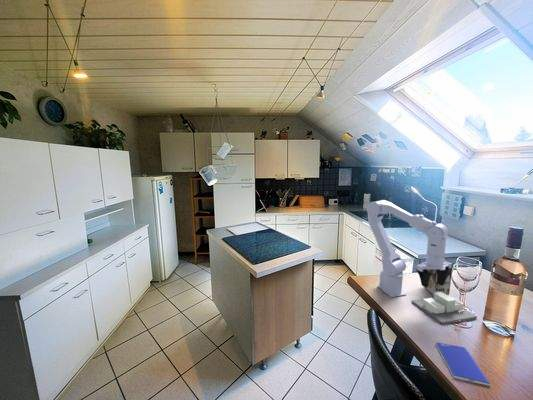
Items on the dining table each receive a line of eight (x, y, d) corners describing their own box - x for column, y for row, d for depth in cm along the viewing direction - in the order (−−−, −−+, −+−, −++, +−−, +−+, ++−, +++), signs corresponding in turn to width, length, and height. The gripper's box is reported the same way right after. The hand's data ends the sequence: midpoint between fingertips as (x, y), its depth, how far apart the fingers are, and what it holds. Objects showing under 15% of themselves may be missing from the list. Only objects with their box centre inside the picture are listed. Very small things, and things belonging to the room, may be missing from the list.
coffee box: (449, 297, 100) (453, 263, 98) (433, 296, 101) (437, 263, 99) (437, 286, 109) (441, 255, 107) (423, 285, 110) (426, 255, 108)
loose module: (432, 303, 94) (434, 292, 93) (439, 302, 95) (441, 291, 94) (446, 312, 88) (448, 301, 87) (454, 311, 89) (455, 300, 88)
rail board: (411, 302, 97) (412, 293, 97) (442, 298, 100) (443, 289, 99) (441, 324, 84) (443, 314, 83) (476, 318, 86) (478, 308, 86)
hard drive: (435, 341, 74) (454, 374, 63) (465, 347, 72) (490, 382, 60) (435, 345, 75) (453, 379, 63) (465, 351, 72) (489, 387, 61)
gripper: (428, 259, 84) (425, 292, 86) (460, 256, 87) (456, 288, 89) (413, 252, 91) (411, 283, 93) (443, 249, 94) (440, 279, 96)
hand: (432, 285), depth 91 cm, fingers open, 7 cm apart
